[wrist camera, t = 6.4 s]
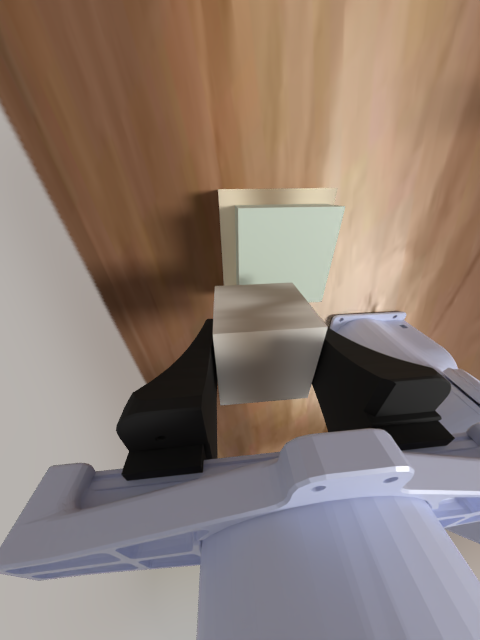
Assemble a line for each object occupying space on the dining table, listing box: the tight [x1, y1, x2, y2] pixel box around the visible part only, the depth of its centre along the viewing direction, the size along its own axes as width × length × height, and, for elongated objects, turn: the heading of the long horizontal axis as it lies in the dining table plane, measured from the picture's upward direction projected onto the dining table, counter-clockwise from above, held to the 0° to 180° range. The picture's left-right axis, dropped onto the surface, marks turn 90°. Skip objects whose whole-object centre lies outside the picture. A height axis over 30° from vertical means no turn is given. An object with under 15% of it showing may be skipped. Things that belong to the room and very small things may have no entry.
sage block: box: [235, 204, 345, 302], centre depth 16 cm, size 7×7×3 cm
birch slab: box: [218, 188, 337, 286], centre depth 18 cm, size 9×9×3 cm
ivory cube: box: [213, 283, 328, 405], centre depth 12 cm, size 5×5×5 cm
